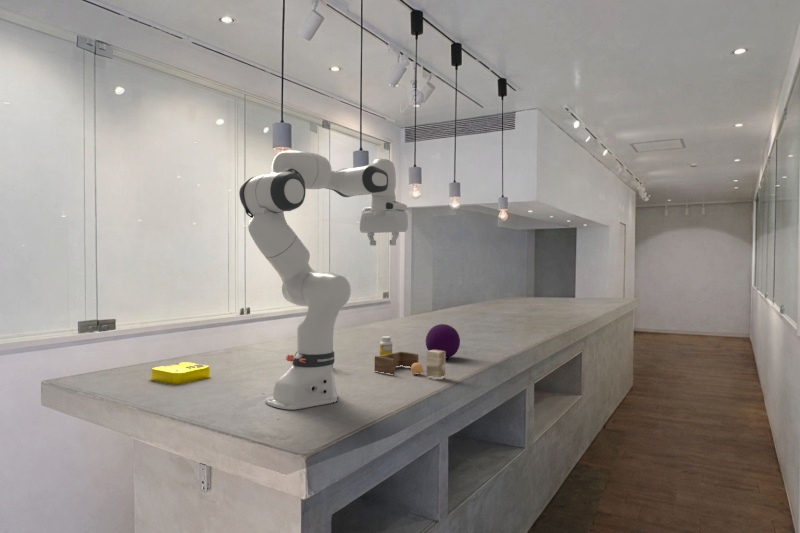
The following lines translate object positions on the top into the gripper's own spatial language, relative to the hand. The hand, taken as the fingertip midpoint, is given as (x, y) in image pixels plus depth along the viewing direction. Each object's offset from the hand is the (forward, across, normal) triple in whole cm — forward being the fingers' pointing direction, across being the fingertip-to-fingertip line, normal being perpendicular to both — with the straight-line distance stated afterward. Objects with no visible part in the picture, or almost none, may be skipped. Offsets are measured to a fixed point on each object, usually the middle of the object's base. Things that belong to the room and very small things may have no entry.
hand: (382, 245), depth 190 cm
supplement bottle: (+48, -26, +31) cm, 63 cm away
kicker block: (+48, +12, +16) cm, 52 cm away
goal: (+48, -6, +16) cm, 51 cm away
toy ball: (+48, -9, +49) cm, 70 cm away
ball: (+48, +3, +16) cm, 51 cm away
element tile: (+49, -55, -46) cm, 87 cm away
